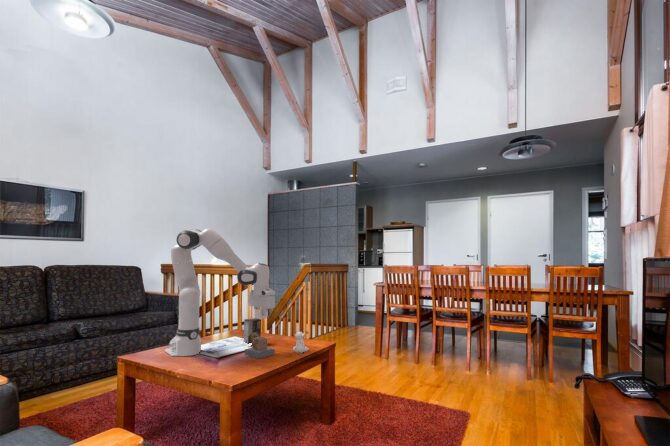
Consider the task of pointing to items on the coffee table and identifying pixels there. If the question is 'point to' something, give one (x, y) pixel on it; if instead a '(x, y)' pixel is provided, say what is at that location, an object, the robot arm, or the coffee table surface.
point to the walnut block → (259, 343)
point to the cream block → (260, 313)
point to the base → (259, 352)
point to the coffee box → (251, 329)
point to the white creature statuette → (300, 343)
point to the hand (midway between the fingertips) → (260, 315)
